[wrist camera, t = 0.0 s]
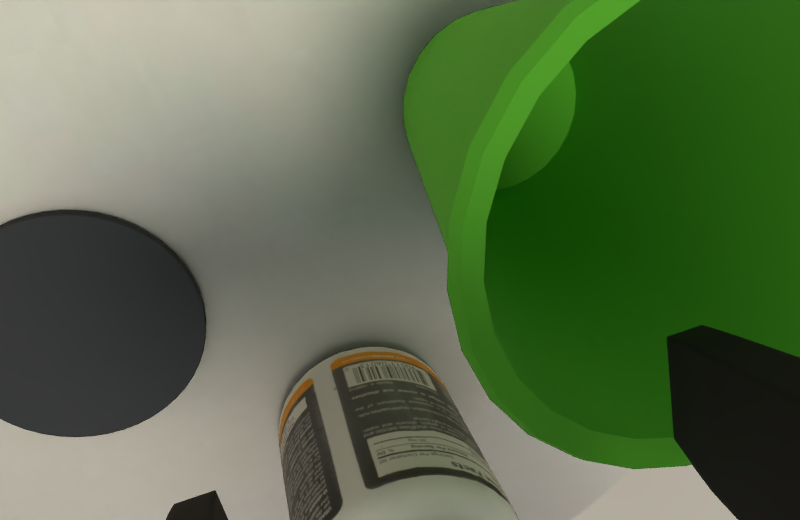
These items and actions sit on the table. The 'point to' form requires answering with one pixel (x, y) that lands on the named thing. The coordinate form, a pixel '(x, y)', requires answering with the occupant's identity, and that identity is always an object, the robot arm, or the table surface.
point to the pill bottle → (382, 445)
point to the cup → (611, 201)
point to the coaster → (92, 324)
